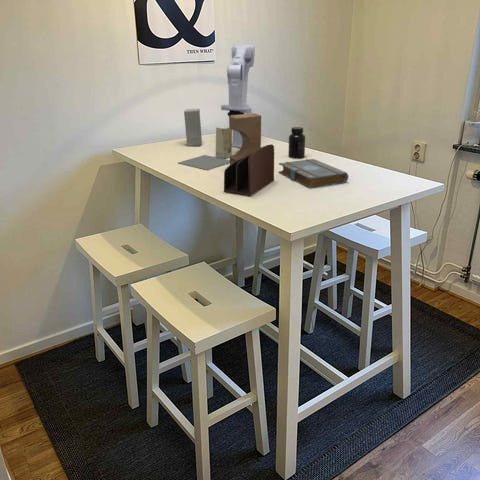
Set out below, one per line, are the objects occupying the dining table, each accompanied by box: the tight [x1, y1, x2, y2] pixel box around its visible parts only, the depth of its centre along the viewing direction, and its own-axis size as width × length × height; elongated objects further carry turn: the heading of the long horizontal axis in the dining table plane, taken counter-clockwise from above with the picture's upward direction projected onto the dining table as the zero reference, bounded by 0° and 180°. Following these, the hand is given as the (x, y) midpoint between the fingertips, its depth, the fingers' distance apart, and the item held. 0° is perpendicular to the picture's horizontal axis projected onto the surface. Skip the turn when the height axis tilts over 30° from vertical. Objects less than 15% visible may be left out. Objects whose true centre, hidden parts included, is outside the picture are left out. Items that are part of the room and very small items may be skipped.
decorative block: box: [228, 112, 262, 166], centre depth 183 cm, size 11×6×20 cm, turn 117°
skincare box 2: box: [215, 125, 233, 159], centre depth 199 cm, size 6×4×12 cm
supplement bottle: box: [288, 126, 306, 159], centre depth 200 cm, size 7×7×12 cm
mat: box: [177, 154, 230, 171], centre depth 194 cm, size 16×16×1 cm
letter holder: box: [223, 143, 275, 197], centre depth 163 cm, size 10×20×14 cm, turn 153°
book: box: [278, 158, 349, 190], centre depth 175 cm, size 21×16×5 cm
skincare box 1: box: [183, 108, 203, 147], centre depth 220 cm, size 8×7×16 cm
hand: (235, 129), depth 203 cm, fingers closed
